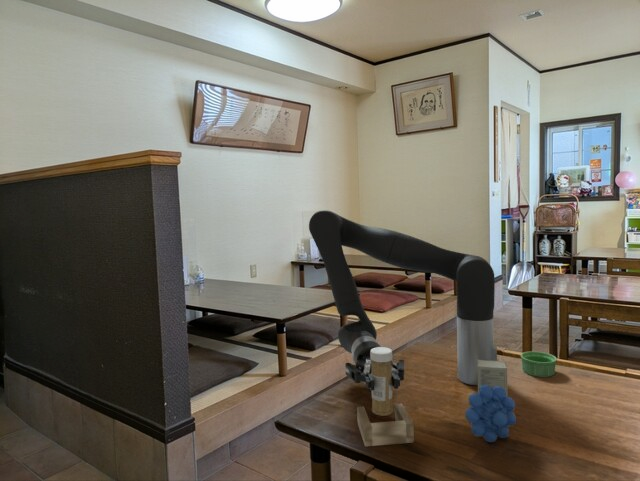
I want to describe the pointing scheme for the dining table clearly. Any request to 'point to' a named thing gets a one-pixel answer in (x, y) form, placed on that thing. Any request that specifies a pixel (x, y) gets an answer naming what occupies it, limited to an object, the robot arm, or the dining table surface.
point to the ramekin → (538, 363)
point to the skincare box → (492, 374)
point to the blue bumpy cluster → (491, 413)
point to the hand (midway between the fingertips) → (384, 385)
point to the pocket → (386, 428)
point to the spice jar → (381, 380)
